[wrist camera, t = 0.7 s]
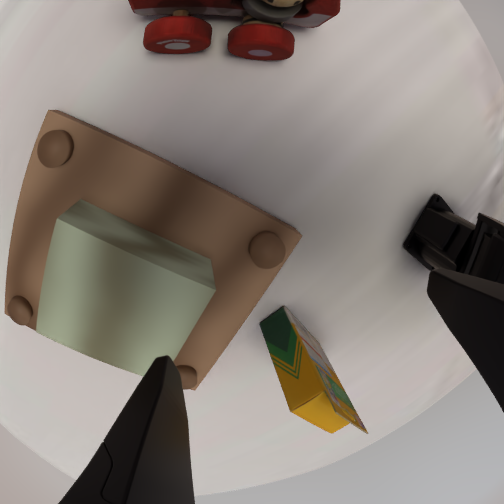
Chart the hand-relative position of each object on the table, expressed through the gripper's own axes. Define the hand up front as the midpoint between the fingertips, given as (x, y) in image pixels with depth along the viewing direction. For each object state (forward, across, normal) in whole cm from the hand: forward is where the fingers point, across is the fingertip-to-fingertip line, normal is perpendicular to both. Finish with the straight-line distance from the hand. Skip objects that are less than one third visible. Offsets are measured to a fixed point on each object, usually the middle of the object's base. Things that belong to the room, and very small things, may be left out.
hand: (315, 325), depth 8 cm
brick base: (+13, +10, +3) cm, 17 cm away
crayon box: (+14, -2, +14) cm, 19 cm away
